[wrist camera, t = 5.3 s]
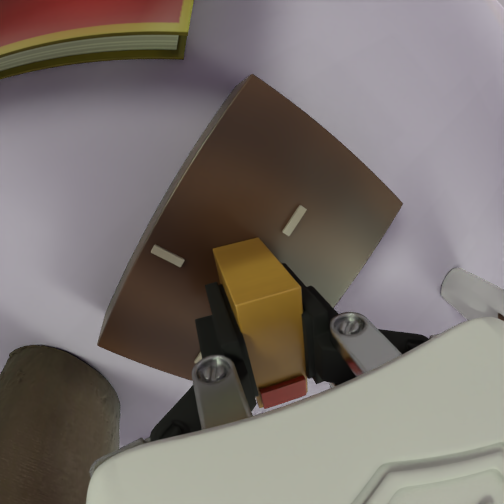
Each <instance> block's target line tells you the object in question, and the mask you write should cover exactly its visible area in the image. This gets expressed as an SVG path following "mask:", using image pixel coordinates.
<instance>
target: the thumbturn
mask: <svg viewBox="0 0 504 504" xmlns="http://www.w3.org/2000/svg"><path fill="white" fill-rule="evenodd" d="M213 254H214V258H215V262H216V267H217V271H218V275H219V280H220V284H223V287H224V290H225V292H226V295H227V298H228V300H229V303H230V306H231V308H232V311H233V313H234V316H235V319H236V321H237V324H238V326H239V329H240V331H241V333H242V334H243V337H244V340H245V343H246V347H247V351H248V355H249V359H250V363H251V367H252V370H253V374H254V378H255V382H256V386H257V390H258V394H259V396H257V397H255V398H256V401H257V403H258V406H259V408H262V407H264V409H266V408H269V407H272V406H276V405H279V404H282V403H285V402H288V401H291V400H293V399H296V398H299V397H302V396H305V395H306V393H307V392H308V390H307V376H306V363H305V350H304V338H303V327H302V316H301V314H303V304H302V291H301V286H300V285H299V284H298V283H297V282H296V280H295V279H294V278H293V277H292V276H291V275H290V273H289V272H288V271H287V270H286V269H285V268H284V266H283V265H282V264H281V263H280V262H279V261H278V259H277V258H276V257H275V256H274V255H273V254H272V252H271V251H270V250H269V249H268V248H267V247H266V246H265V244H264V243H263V242H262V241H261V240H260V239H259V238H254V239H250V240H246V241H241V242H237V243H233V244H229V245H225V246H221V247H217V248H213Z"/></svg>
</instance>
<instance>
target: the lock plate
mask: <svg viewBox="0 0 504 504" xmlns="http://www.w3.org/2000/svg"><path fill="white" fill-rule="evenodd" d="M402 205H403V203H402V202H401V201H400V200H399V199H398V198H397V196H396V195H395V194H394V193H393V192H392V191H391V190H390V189H389V188H388V187H387V186H386V185H385V184H384V183H383V182H382V181H381V180H380V179H379V178H378V177H377V176H376V175H375V174H374V173H373V172H372V171H371V170H370V169H369V168H368V167H367V166H366V165H365V164H364V163H363V162H362V161H361V160H359V159H358V158H357V157H356V156H355V155H354V154H353V153H352V152H351V151H350V150H349V149H348V148H346V147H345V146H344V145H343V144H342V143H341V142H340V141H339V140H337V139H336V138H335V137H334V136H333V135H332V134H331V133H329V132H328V131H327V130H326V129H325V128H323V127H322V126H321V125H320V124H319V123H317V122H316V121H315V120H314V119H313V118H311V117H310V116H309V115H308V114H306V113H305V112H304V111H303V110H301V109H300V108H299V107H297V106H296V105H295V104H294V103H292V102H291V101H290V100H288V99H287V98H286V97H284V96H283V95H282V94H280V93H279V92H278V91H276V90H275V89H273V88H272V87H271V86H269V85H268V84H266V83H265V82H264V81H262V80H261V79H259V78H258V77H256V76H255V75H253V74H251V75H250V76H248V77H247V78H246V79H244V80H243V81H242V82H241V83H239V84H238V85H237V86H236V87H235V88H234V89H233V91H232V92H231V93H230V95H229V96H228V97H227V99H226V100H225V102H224V103H223V104H222V106H221V107H220V109H219V110H218V112H217V113H216V114H215V116H214V117H213V119H212V120H211V122H210V123H209V125H208V126H207V128H206V129H205V131H204V132H203V134H202V135H201V137H200V138H199V140H198V141H197V143H196V144H195V146H194V148H193V149H192V151H191V152H190V154H189V155H188V157H187V159H186V160H185V162H184V163H183V165H182V167H181V168H180V170H179V172H178V173H177V175H176V177H175V178H174V180H173V182H172V183H171V185H170V187H169V189H168V190H167V192H166V194H165V195H164V197H163V199H162V201H161V202H160V204H159V206H158V208H157V210H156V211H155V213H154V215H153V217H152V219H151V221H150V222H149V224H148V226H147V228H146V230H145V232H144V234H143V236H142V238H141V239H140V241H139V243H138V245H137V247H136V249H135V251H134V253H133V255H132V257H131V259H130V261H129V263H128V265H127V267H126V270H125V272H124V274H123V276H122V278H121V280H120V282H119V284H118V287H117V289H116V291H115V293H114V295H113V298H112V300H111V302H110V304H109V307H108V309H107V311H106V314H105V317H104V321H103V325H102V328H101V332H100V336H99V340H98V346H99V347H102V348H104V349H106V350H109V351H111V352H114V353H116V354H118V355H121V356H123V357H126V358H128V359H131V360H134V361H136V362H139V363H141V364H144V365H147V366H150V367H152V368H155V369H158V370H161V371H164V372H167V373H170V374H173V375H176V376H179V377H182V378H185V379H188V380H192V369H193V367H194V365H195V364H196V363H197V362H198V361H199V360H201V359H202V356H201V351H200V346H199V340H198V335H197V330H196V324H195V319H198V318H202V317H205V316H209V315H212V312H211V308H210V304H209V300H208V297H207V293H206V289H205V285H207V284H210V283H214V282H217V283H218V285H220V280H219V275H218V271H217V267H216V262H215V258H214V254H213V248H217V247H221V246H225V245H229V244H233V243H237V242H241V241H246V240H250V239H254V238H259V239H260V240H261V241H262V242H263V243H264V244H265V246H266V247H267V248H268V249H269V250H270V251H271V252H272V254H273V255H274V256H275V257H276V258H277V259H278V261H279V262H280V263H281V264H282V263H286V264H287V265H288V267H289V268H290V269H291V270H292V271H293V272H294V273H295V274H296V276H297V277H298V278H299V279H300V280H301V281H302V282H303V283H304V285H305V286H306V287H308V286H313V287H314V288H315V289H316V290H317V291H318V292H319V293H320V294H321V295H322V297H323V298H324V299H325V300H326V301H327V302H328V303H329V304H330V305H331V306H332V307H333V308H334V307H335V305H336V304H337V303H338V301H339V300H340V299H341V297H342V296H343V294H344V293H345V292H346V290H347V289H348V287H349V286H350V285H351V283H352V282H353V280H354V279H355V278H356V276H357V275H358V273H359V272H360V270H361V269H362V267H363V266H364V265H365V263H366V262H367V260H368V259H369V257H370V256H371V254H372V253H373V251H374V250H375V248H376V247H377V245H378V243H379V242H380V240H381V239H382V237H383V236H384V234H385V233H386V231H387V229H388V228H389V226H390V225H391V223H392V221H393V220H394V218H395V216H396V215H397V213H398V211H399V210H400V208H401V206H402ZM192 381H193V380H192Z"/></svg>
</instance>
